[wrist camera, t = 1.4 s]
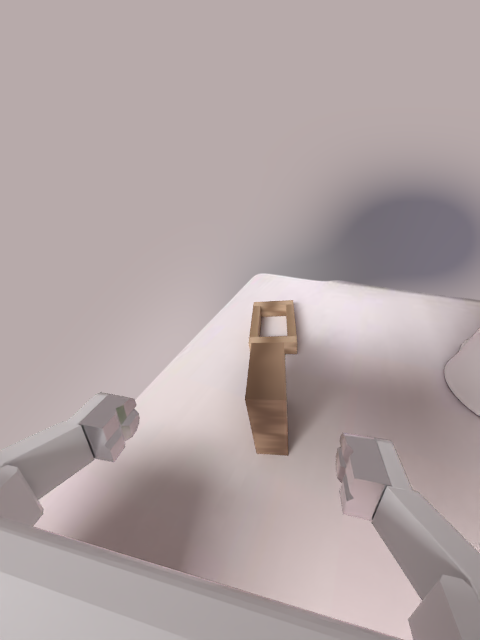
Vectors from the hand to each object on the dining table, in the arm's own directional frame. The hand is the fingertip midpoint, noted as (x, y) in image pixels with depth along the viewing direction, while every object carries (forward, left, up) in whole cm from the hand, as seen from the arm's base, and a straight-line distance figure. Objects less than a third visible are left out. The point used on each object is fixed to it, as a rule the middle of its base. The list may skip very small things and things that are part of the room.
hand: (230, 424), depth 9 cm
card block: (0, -13, -24) cm, 27 cm away
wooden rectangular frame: (0, -33, -24) cm, 41 cm away
